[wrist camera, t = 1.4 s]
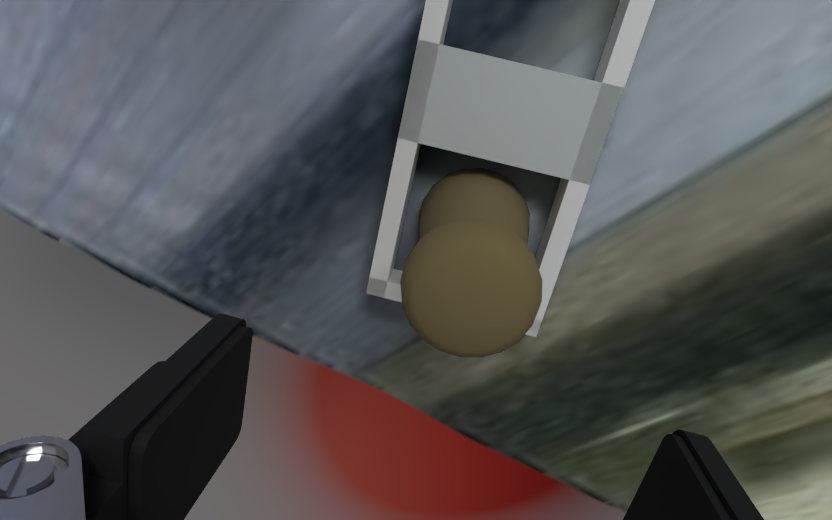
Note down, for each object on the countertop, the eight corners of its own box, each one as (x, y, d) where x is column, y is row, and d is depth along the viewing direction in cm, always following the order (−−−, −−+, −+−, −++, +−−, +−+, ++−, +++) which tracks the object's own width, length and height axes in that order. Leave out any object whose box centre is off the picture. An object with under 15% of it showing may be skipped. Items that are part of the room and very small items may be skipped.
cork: (474, 295, 28) (471, 414, 18) (396, 224, 28) (346, 307, 17) (554, 221, 26) (600, 308, 16) (472, 143, 26) (466, 182, 15)
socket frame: (684, -121, 21) (704, -140, 19) (532, 320, 28) (536, 337, 27) (466, -168, 21) (465, -192, 19) (373, 279, 29) (366, 293, 27)
